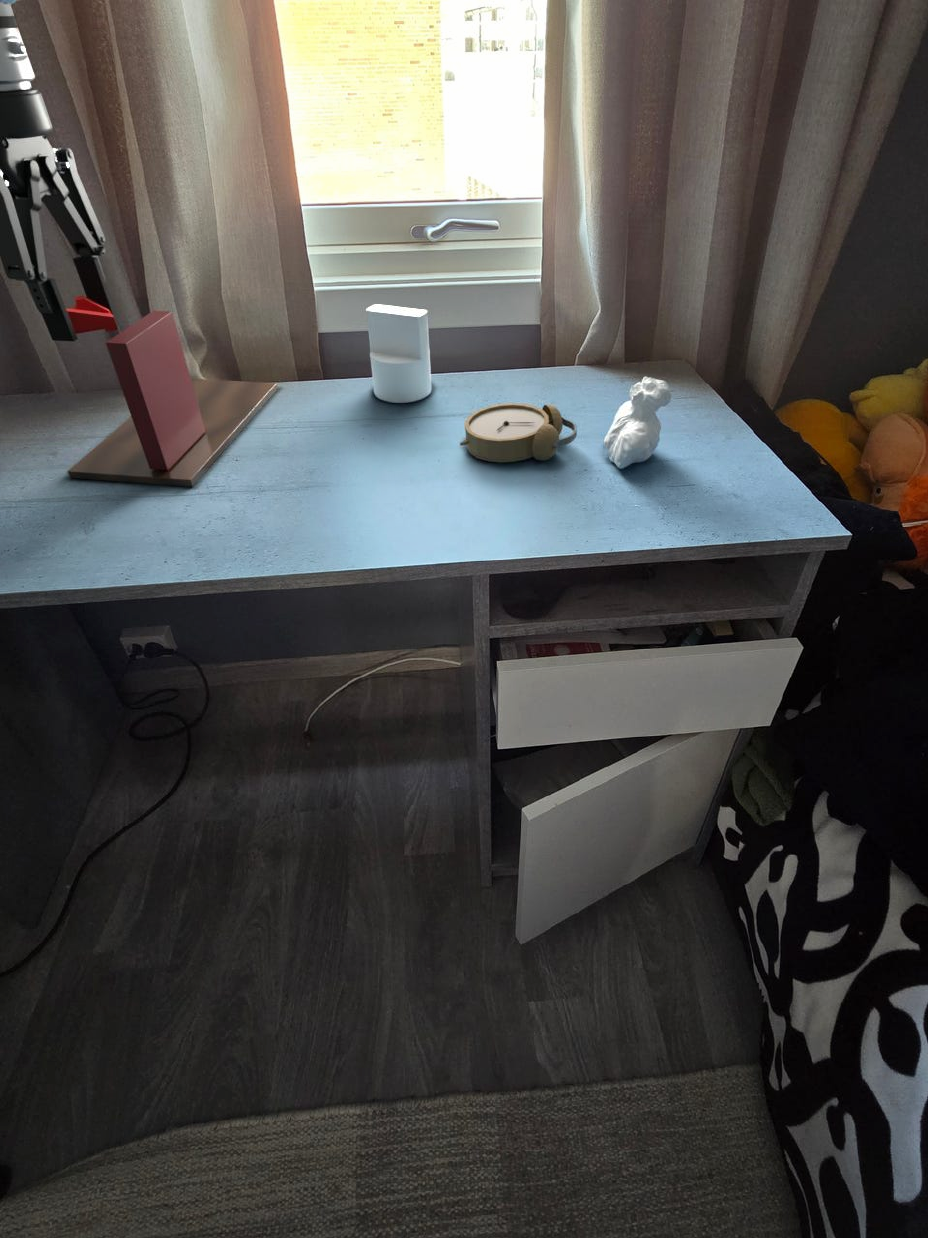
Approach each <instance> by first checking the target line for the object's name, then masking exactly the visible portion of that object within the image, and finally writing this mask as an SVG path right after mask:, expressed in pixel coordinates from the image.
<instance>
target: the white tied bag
mask: <svg viewBox="0 0 928 1238" xmlns="http://www.w3.org/2000/svg"><path fill="white" fill-rule="evenodd" d="M671 399H672V392H671V388H670V386H669V384H668V382H666V381H665V380H662V379H656V378H653V377H651V376H650V377H648V376H643V378H642V380H641V382H640V381H638V382H636V384H634V385H631V387H630V389H629V400H627V401H626V402H624V403H623V404H622V405H621V406H620V407H619V408H618V410H617V412H616V413H615V416H614V418H613V422H612V424H611V426H610V427H609V429H608V432H607V433H606V435H605V437H604V439H603V444H604V449H605V451H606V454H607V455H608V457H609V461H610V462H611V463H614V464H615V466H616V467H617V468H618V469H621V470H622V469H624V468H627V467H628V466H630V465H631V464H634V463H641V462H645V461H647V460H649V458H650V457H651V456H652V455H653V453H654V451H655V450H656V449H657V447H658V445H659V442H660V434H661V429H662V424H661V421H660V419H659V418H658V416H657V413H656V412H657V411H658V410H659V409H661V407H666V406H667V405H669V404H670V402H671V401H672V400H671Z"/></svg>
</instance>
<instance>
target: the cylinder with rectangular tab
mask: <svg viewBox="0 0 928 1238" xmlns="http://www.w3.org/2000/svg"><path fill="white" fill-rule="evenodd" d="M365 313H366V322H367V332H368V340H369V341H368V342H369V351H370V352H369V357H370V359H369V360H370V367H371V376H372V377H371V378H372V386H373V393H374V396H375V397H376V398H378V399H379V400H380V401H384V402H388V403H394V404H405V403H406V404H407V403H413V402H417V401H420V400H423V399H425V398H427V397H428V396H429V395H430V394H431V393H432V372H431V371H432V370H431V369H432V368H431V352H430V351H431V350H430V335H429V334H430V333H429V317H428V309H419V308H411V307H402V306H397V305H396V306H394V305H387V304H377V303H374V304H372V305H371V306H369V307H367V308H366V310H365Z"/></svg>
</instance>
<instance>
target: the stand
mask: <svg viewBox="0 0 928 1238" xmlns="http://www.w3.org/2000/svg"><path fill="white" fill-rule="evenodd" d="M195 379H196V380H195ZM199 379H200V380H199ZM191 381H192V385H193V389H194V392H195V396H196V399H197V403H198V407H199V410H200V414H201V417H202V421H203V424H204V428H205V432H204V433H203V434H202V435H201V436H200V437H199V439H198V440H197V441H196V442H195V443H194V444H193V445H192V446H191V447H190V448H189V449H188V450H187V451H186V452H185V453H184V454H183V455H182V456H181V457H180V458H179V460H178V461H177V462H176V463H175V464H174V465H173V466H172V467H171V468H170V469H169V470H168V471H167V470H154V469H150V468H149V465H148V462H147V459H146V456H145V454H144V451H143V448H142V445H141V442H140V439H139V436H138V434H137V431H136V428H135V425H134V422H133V419H132V417H131V416H130V417H129V418H128V419H126V420H125V421H124V422H123V423H122V424H121V425H119V426H118V427H116V429H115V430H114V431H113V432H111V433H110V434H109V435H108V436H106V437H105V438H104V439H103V440H102V441H100V442H99V443H98V444H97V445H96V446H95V447H94V448H92V449H91V450H90V451H89V452H88V453H87V454H86V455H84V456H83V457H82V458H81V459H79V461H77V462H76V463H75V464H74V465H73V466H71V468H69V469H68V470H67V474H68V477H69V478H70V479H78V480H79V479H80V480H81V479H82V480H94V481H106V482H121V483H122V482H123V483H137V484H147V485H148V484H150V485H163V486H178V487H191V488H193V487H195V485H196V484H197V482H198V481H199V480H200V479H201V478H202V477H203V476H204V475H205V474H206V472H208V470H209V469H210V468H211V466H212V465H213V464H215V462H216V461H217V460H218V459H219V457H220V456H221V455H222V454H223V453H224V452H225V450H227V448H228V447H229V446H230V445H231V444H232V442H233V441H234V440H235V439H236V438H237V437H238V436H239V434H240V433H241V432H242V431H243V430H244V429H245V428H246V426H248V424H249V423H250V422H251V420H252V419H253V418H254V417H255V416H256V415H257V414H258V412H259V411H260V410H261V409H262V408H263V407H264V405H266V403H267V402H268V401H269V400H270V399H271V397H273V395H274V394H275V393H276V392H277V390H278V384H277V382H264V381H243V380H242V381H241V380H223V379H205V378H203V379H202V378H191Z"/></svg>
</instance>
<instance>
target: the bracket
mask: <svg viewBox="0 0 928 1238" xmlns="http://www.w3.org/2000/svg"><path fill="white" fill-rule="evenodd" d="M74 300H75V303H74V305H73V307H72V308H70V307H69V308H68V307H66V310H67V313H68V315H69V318H70V320H71V323H72V326H73V328H74V331H75V333H76V335H79V334H83V333H84V334H85V333H89V332H95V331H100V330H101V331H102V330H105V332H106V333H108V332H114V331H118V330H119V328H118V325H117V322H116V320H115V316H114V317H113V315H112V314H111V312H110V310H109V309H108V308H106V307H104V306H102V305H100V304H98V303H96V302H94V301H92V300H90V299H88V298H87V297H86V296H85V295H78V296H74Z"/></svg>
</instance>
